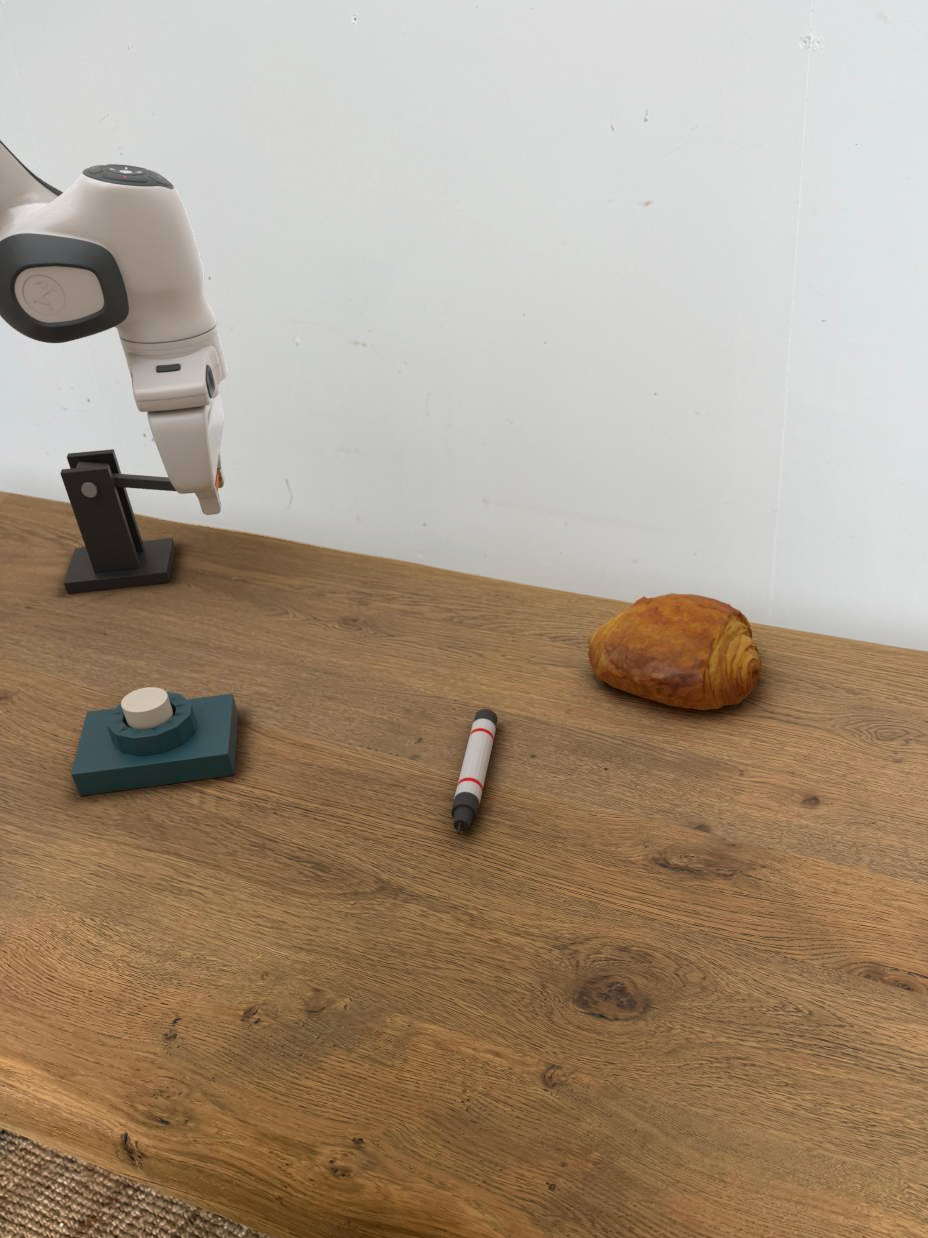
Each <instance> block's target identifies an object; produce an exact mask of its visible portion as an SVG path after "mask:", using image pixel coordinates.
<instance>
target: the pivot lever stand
mask: <svg viewBox="0 0 928 1238" xmlns="http://www.w3.org/2000/svg"><path fill="white" fill-rule="evenodd" d="M115 451H116V450H115V448H113V449H102V450H101V449H100V450H90V451H79V452H68V453H67V456H66V460H67V463H68V466H69V468H62V469H61V470H60V473H59V474H60V477H61V479H62V482H63V485H64V488H65V491H66V494H67V497H68V500H69V503H70V506H71V508H72V511H73V514H74V518H75V520H76V523H77V526H78V529H79V532H80V535H81V537H82V541H83V544H84V546H80V547H75V548H74V551H73V554H72V556H71V560H70V562H69V565H68V569H67V572H66V575H65V578H64V581H63V585H64V588H65V590H66V593H67V594H69V595H70V594H76V593H77V594H78V593H87V592H94V591H96V592H97V591H103V590H104V591H105V590H112V589H113V590H114V589H123V588H131V587H140V586H149V585H159V584H167V583H170V581H171V580H170V579H171V575H172V574H171V573H172V569H173V563H174V558H175V553H176V545H175V542H174V541H175V540H174V538H173V537H167V538H159V539H157V538H156V539H148V540H143V539H142V536H141V532H140V529H139V526H138V522H137V520H136V516H135V513H134V510H133V506H132V504H131V501H130V497H129V493H128V491H127V488H123V487H116V486H115V483H114V479H113V476H112V473H117V474H122V471H121V468H120V464H119V461H118V459H117V455H116V452H115ZM78 462H91V463H103V464H109V465H102V466H92V467H81V468H76V466H77V464H78Z"/></svg>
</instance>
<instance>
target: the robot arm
mask: <svg viewBox="0 0 928 1238" xmlns="http://www.w3.org/2000/svg"><path fill="white" fill-rule="evenodd" d="M190 219H191V218H190V216H189V214H188V211H187V209H186V206H185V204H184V201H183V200H182V197H181V194H180V193H179V192H178V190H177V189H176V187H175V186H174V185H173V183H172V182H170V181H169V180H168V179H167V178H166V177H164V176H163V175H162V174H160V173H158V172H156V171H154V170H150V169H147V168H145V167H141V166H136V165H128V164H119V163H117V164H116V163H112V164H111V163H109V164H97V165H92V166H90V167H86V168H84V169H83V170H82V171H81V173H80V174H79V176H78V177H77V179H76V180H75V181H74V182H73V183H72V184H71V185H70V186H69V187H68V188H67V189H65V190H64V191H62V190H60V189H58V188H56V187H54V186H53V185H51V184H50V183H48V182H46V181H44V180H43V179H42V178H40V177H39V176H38V175H36V174H35V173H34V172H33V171H32V170H31V169H29V168H28V167H27V166H26V165H25V164H24V163H23V162H22V161H21V160H20V159H19V158H18V157H17V155H16V154H15V153H13V151H11V150H10V149H9V148H8V147H7V145H6V144H5V143H4V142H3V141H2V140H1V139H0V318H2V320H3V321H4V322H5V323H7V325H9V326H10V327H11V328H12V329H14V330H15V331H16V332H18V333H20V334H21V335H23V336H25V337H27V338H28V339H31V340H33V341H38V342H42V343H48V344H62V343H69V342H72V341H76V340H80V339H83V338H86V337H87V338H88V337H90V336H94V335H97V334H99V333H103V332H106V331H108V330H110V329H112V328H116V330H117V334H118V337H119V340H120V345H121V346H122V350H123V353H124V357H125V360H126V364H127V367H128V371H129V374H130V378H131V386H132V395H133V399H134V402H135V405H136V408H137V410H138V411H139V412H140V413H146V417H147V421H148V425H149V429H150V431H151V434H152V437H153V440H154V443H155V446H156V449H157V451H158V454H159V456H160V459H161V461H162V464H163V467H164V469H165V472H166V475H167V477H169V479H170V482H171V483H172V485H173V487H174V488H175V490H176V491H175V492H177V493H178V494H180V495H186V494H195V496H196V497H197V499H198V503H199V505H200V509H201V512H202V514H203V515H206V516H213V515H218V514H220V513H221V512H222V511H221V510H222V502H221V499H220V498H221V497H220V495H219V490H218V491H216V487H215V480H216V473H217V472H218V473H219V488H218V489H222V488H223V487H224V484H225V480H226V479H225V475H224V470H223V466H222V459H221V458H222V457H221V443H222V437H223V428H224V422H225V412H224V404H223V401H222V397H221V394H220V393H221V389H220V384H221V382H222V381H224V380H225V379H226V378H227V376H229V373H230V372H229V367H228V362H227V359H226V354H225V351H224V345H223V343H222V338H221V333H220V330H219V329H220V328H219V327H218V326H219V325H218V321H217V318H216V315H215V312H214V311H213V309H212V307H211V306H210V304H209V301H208V298H207V296H206V290H205V277H206V276H205V275H206V274H205V269H204V264H203V261H202V257H201V252H200V250H199V245H198V242H197V238H196V235H195V232H194V229H193V225H192V223H191V220H190Z"/></svg>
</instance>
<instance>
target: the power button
mask: <svg viewBox="0 0 928 1238" xmlns="http://www.w3.org/2000/svg"><path fill="white" fill-rule="evenodd" d="M167 692H168V691H166V690H165V689H164V688H161V687H155V686H149V687H142V688H138V689H135V690H132V691H130V692H129V693H127V694H126V695H124V697H122V699H121V701H120V703H121V707H122V709H123V712H124V715H125V718H126V721H127V723H128V725H129V726H130V727H132V728H135V729H146V728H153V727H156V726H158V725H161V724H163V723H165V722H168V721H169V720H170V719H171V718H172V716H173V710H172V707H171V704H170V701H169V698H168V694H167Z"/></svg>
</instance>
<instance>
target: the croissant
mask: <svg viewBox="0 0 928 1238" xmlns="http://www.w3.org/2000/svg"><path fill="white" fill-rule="evenodd" d="M751 628H752V627H751V623H750V621H749V619H748V618H747V617H746V615H745V614H743V613H742V612H741V610H739V609H738V608H735V607H733V606H732V605H731V604H730V603H726V602H723V601H722V600H719V599H716V598H712V597H707V596H704V595H699V594H693V593H673V592H672V593H671V592H670V593H667V594H662V595H657V596H655V597H654V596H653V597H649V598H648V597H646V596H642V597H640V598H639V599H637V600H636V601H634V603H633V604H632V605H630V606H629V607H628V608H627V609H625V610H624V611H622V612H620V613H618V614H616V615H615V616H614V617H613V618H611V619H608V620H607V621H606V622H605V623H603V624H602V625H600V626H599V627H598V628H597V629H596V630H595V631H594V632H593V633H592V635H590V637H589V639H588V652H587V656H588V659H589V664H590V666H591V667H592V670H593V673H595V676H597V678H598V680H599V681H601V682H604V683H606V684H608V685H609V686H611V687H612V688H614V689H617V690H620V691H624V692H626V693H629V694H632V695H634V696H637V697H640V698H642V699H643V698H644V699H646V700H651V701H654V702H657V703H661V704H664V705H666V706H671V707H676V708H683V709H687V710H688V709H693V710H696V711H697V710H698V711H707V710H718V709H721V708H722V707H724V706H725V707H726V706H733V705H738V704H740V703H741V702H742V701H743V700H745V699H746V698H747V697H748V696H749V695H750V694H751V693H752V692H753V691H754V689H755V687H756V685H757V682H758V680H759V677H760V675H761V672H762V661H761V658H760V657H761V656H760V655H759V648H758V646H757V645H756V643H755V641H754V640H753V630H752V629H751Z"/></svg>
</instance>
